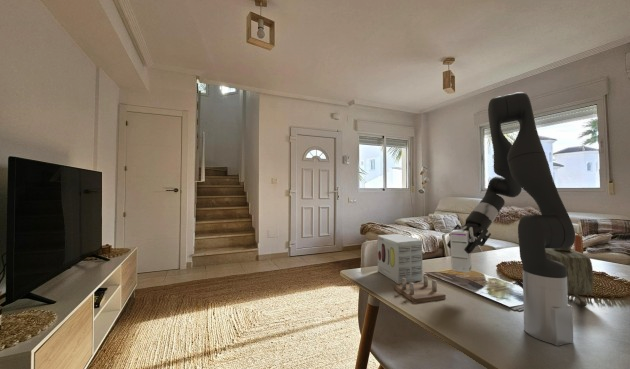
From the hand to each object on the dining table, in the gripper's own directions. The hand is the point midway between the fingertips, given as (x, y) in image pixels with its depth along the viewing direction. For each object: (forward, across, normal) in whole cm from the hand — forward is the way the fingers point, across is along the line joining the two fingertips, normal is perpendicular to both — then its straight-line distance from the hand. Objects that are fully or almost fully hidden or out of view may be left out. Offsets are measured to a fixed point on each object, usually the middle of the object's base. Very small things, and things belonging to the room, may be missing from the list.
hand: (457, 249), depth 93 cm
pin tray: (+21, -8, +5) cm, 23 cm away
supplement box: (+18, -28, +8) cm, 34 cm away
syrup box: (+5, 0, +6) cm, 8 cm away
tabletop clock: (-12, +9, +39) cm, 42 cm away
